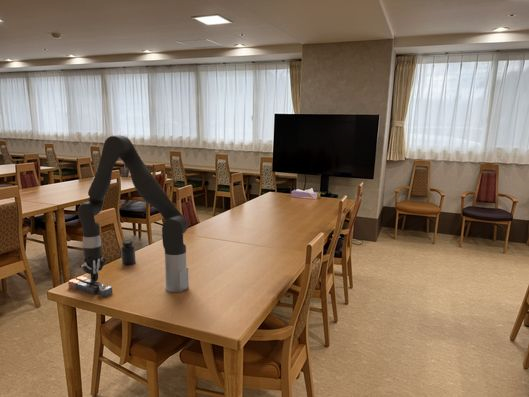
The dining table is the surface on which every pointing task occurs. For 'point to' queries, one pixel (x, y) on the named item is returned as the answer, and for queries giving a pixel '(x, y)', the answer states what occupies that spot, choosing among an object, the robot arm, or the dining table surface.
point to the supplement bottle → (128, 253)
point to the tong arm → (88, 281)
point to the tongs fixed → (90, 288)
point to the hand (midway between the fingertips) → (94, 280)
